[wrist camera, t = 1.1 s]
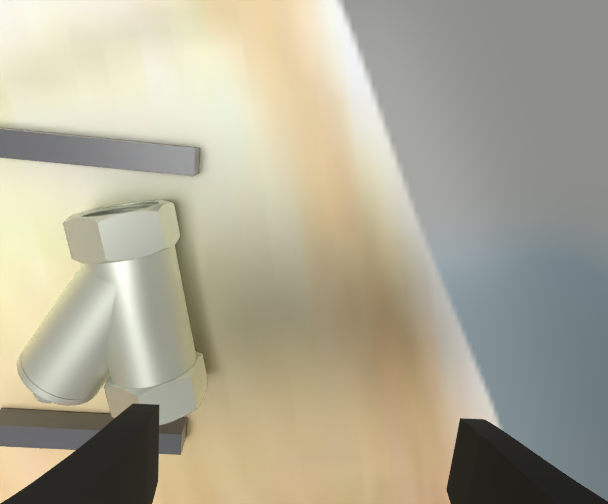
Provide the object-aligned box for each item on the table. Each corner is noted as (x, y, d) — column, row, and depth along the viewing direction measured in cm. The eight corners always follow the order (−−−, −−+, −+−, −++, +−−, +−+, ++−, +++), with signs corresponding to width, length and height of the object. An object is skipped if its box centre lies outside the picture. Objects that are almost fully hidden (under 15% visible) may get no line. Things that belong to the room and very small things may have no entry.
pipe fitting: (67, 388, 21) (213, 373, 21) (13, 443, 17) (191, 427, 17) (19, 215, 19) (180, 196, 19) (-53, 235, 15) (147, 212, 15)
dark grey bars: (186, 437, 21) (180, 454, 20) (2, 428, 21) (-14, 445, 20) (200, 147, 18) (194, 148, 17) (-15, 126, 18) (-35, 125, 16)
